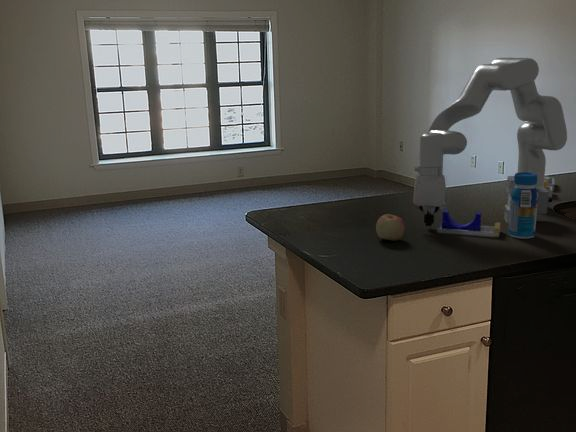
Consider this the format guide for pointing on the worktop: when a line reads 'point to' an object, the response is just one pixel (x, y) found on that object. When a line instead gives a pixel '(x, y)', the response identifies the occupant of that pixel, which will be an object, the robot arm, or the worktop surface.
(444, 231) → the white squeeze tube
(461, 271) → the worktop surface
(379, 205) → the worktop surface
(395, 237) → the apple
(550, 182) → the cup tray
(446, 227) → the blue plastic bracket
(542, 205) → the circuit breaker
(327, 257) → the worktop surface
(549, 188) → the clamp tray
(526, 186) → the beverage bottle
